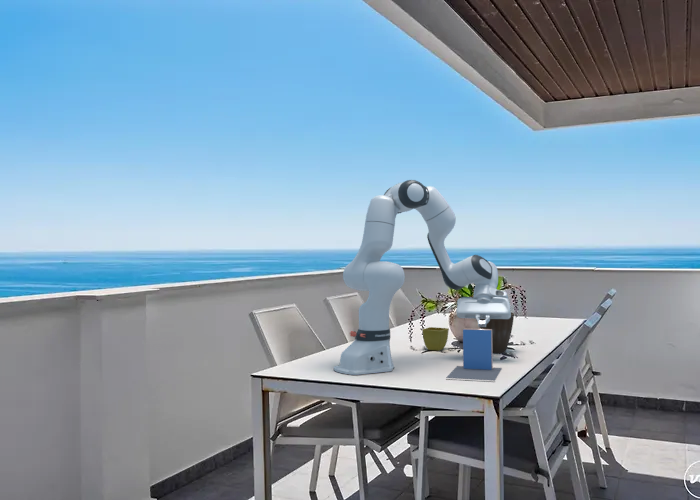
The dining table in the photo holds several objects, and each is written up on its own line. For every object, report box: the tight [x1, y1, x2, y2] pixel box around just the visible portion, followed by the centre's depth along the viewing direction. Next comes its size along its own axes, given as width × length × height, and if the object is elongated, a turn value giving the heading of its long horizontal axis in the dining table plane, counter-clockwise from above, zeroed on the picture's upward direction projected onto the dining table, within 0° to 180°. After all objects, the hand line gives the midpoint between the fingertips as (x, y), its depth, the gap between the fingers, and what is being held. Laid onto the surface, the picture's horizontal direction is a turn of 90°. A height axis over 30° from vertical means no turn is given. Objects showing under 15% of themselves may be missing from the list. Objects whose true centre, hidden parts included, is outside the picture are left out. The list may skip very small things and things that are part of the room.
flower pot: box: [422, 326, 449, 352], centre depth 276 cm, size 9×9×9 cm
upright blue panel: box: [462, 328, 494, 370], centre depth 230 cm, size 2×10×14 cm, turn 71°
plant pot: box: [479, 312, 515, 354], centre depth 269 cm, size 15×15×16 cm
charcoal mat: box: [445, 365, 503, 383], centre depth 223 cm, size 22×16×1 cm
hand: (481, 326), depth 241 cm, fingers closed
